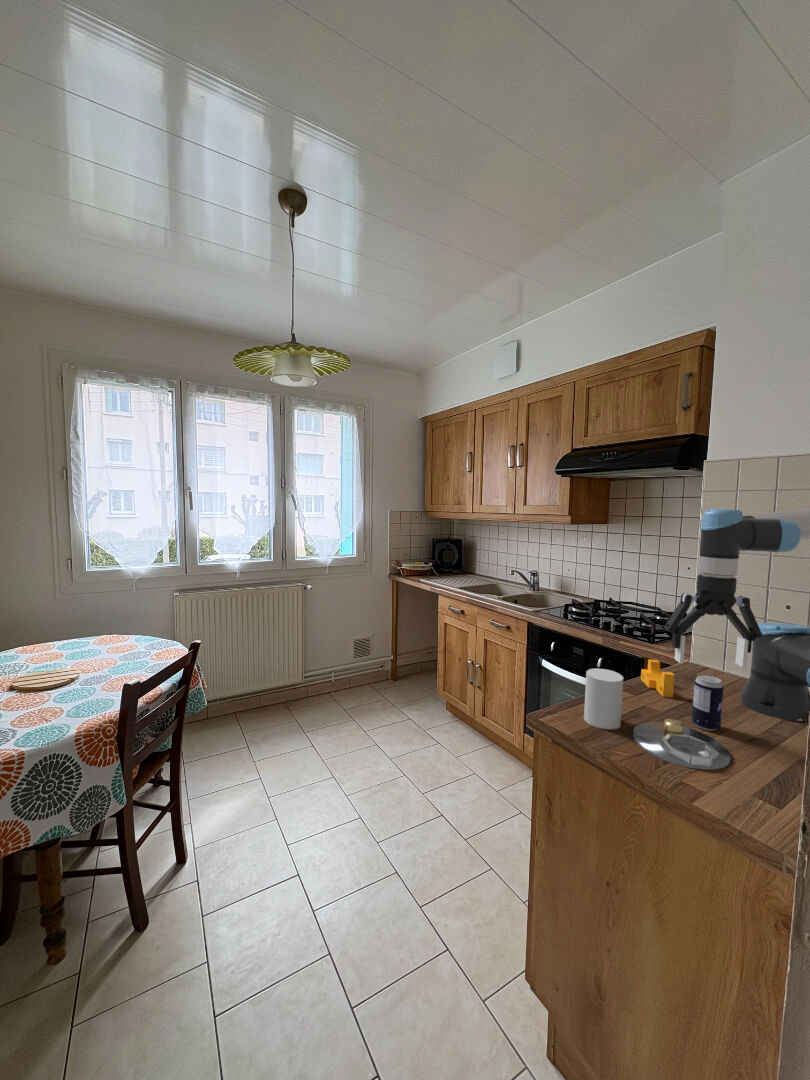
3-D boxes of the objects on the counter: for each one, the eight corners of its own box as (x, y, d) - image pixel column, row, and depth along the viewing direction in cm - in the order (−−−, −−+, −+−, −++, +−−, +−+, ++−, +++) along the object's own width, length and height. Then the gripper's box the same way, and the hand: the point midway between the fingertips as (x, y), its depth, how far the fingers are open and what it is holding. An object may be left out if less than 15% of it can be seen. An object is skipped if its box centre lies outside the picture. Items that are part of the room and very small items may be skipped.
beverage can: (721, 735, 102) (725, 685, 101) (691, 728, 105) (695, 679, 104) (719, 725, 106) (722, 677, 105) (691, 719, 109) (694, 672, 108)
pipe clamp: (640, 679, 135) (642, 658, 134) (656, 680, 134) (657, 659, 133) (656, 696, 123) (657, 673, 122) (672, 697, 122) (674, 674, 122)
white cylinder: (625, 722, 107) (627, 674, 106) (613, 735, 101) (616, 684, 100) (591, 711, 112) (593, 666, 111) (578, 722, 106) (581, 674, 106)
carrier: (701, 730, 104) (702, 713, 103) (750, 776, 86) (752, 756, 86) (621, 724, 106) (622, 707, 106) (652, 768, 88) (654, 748, 88)
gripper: (764, 575, 105) (756, 661, 106) (653, 570, 108) (647, 654, 110) (787, 580, 97) (778, 673, 99) (667, 575, 100) (660, 665, 102)
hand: (709, 663), depth 104 cm, fingers open, 13 cm apart
